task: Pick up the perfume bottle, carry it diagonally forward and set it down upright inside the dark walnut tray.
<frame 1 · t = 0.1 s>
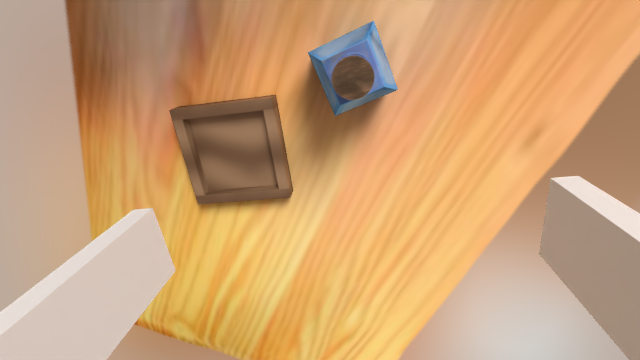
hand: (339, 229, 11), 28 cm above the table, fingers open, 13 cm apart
walnut tray: (237, 150, 40), on the table
perfume bottle: (353, 65, 35), on the table
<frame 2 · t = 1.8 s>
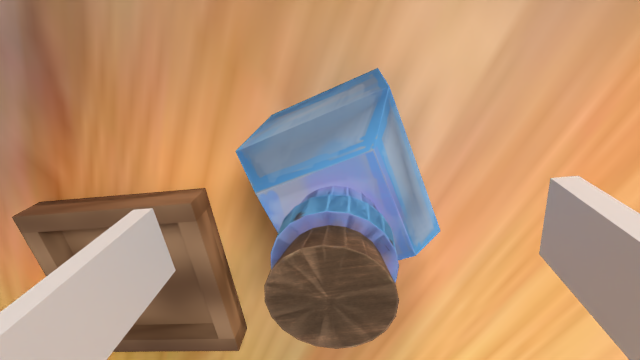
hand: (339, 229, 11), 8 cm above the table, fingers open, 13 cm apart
walnut tray: (150, 268, 24), on the table
perfume bottle: (344, 142, 19), on the table
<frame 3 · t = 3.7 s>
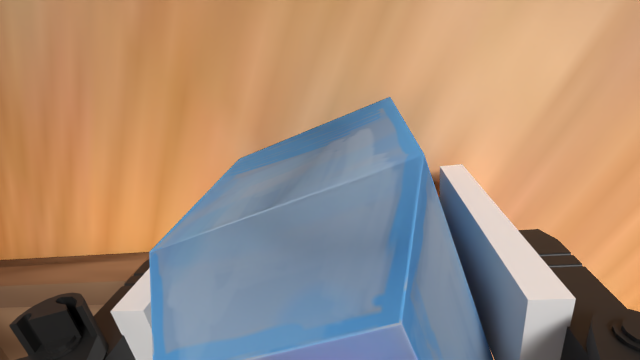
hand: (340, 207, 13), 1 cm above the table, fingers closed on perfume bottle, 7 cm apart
walnut tray: (90, 346, 18), on the table
perfume bottle: (341, 197, 13), on the table, touching gripper
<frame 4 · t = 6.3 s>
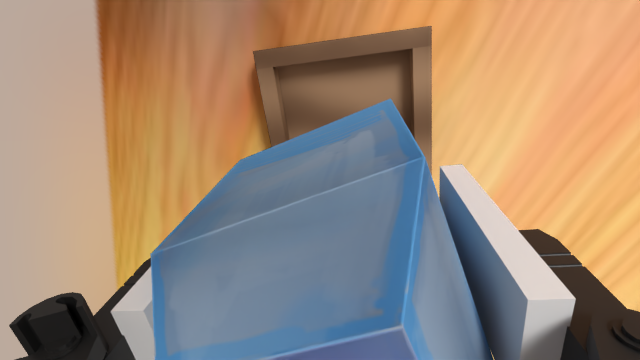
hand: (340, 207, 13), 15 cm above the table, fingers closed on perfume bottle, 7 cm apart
walnut tray: (348, 120, 26), on the table
perfume bottle: (342, 198, 13), point 14 cm above the table, touching gripper
when the fingers open (3 cm above the table, at t = 9.2 s): perfume bottle drops 1 cm, resting on walnut tray.
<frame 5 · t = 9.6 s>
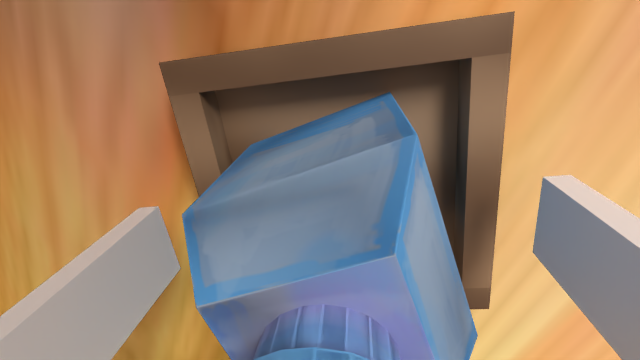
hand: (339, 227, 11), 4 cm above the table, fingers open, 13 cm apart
walnut tray: (343, 179, 15), on the table
perfume bottle: (343, 182, 15), resting on walnut tray
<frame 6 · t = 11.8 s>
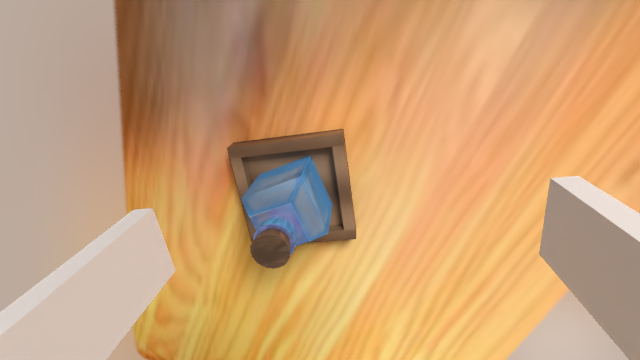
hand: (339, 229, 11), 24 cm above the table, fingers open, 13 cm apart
walnut tray: (297, 187, 37), on the table
perfume bottle: (296, 188, 37), resting on walnut tray
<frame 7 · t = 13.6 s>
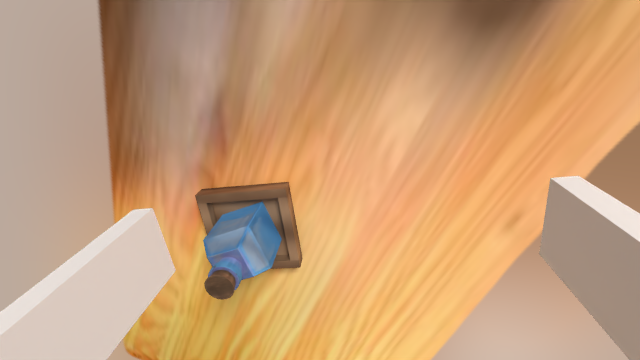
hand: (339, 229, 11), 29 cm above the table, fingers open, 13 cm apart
walnut tray: (253, 224, 46), on the table
perfume bottle: (252, 226, 45), resting on walnut tray
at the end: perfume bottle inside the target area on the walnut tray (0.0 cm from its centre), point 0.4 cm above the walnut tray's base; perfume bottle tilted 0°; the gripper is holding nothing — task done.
